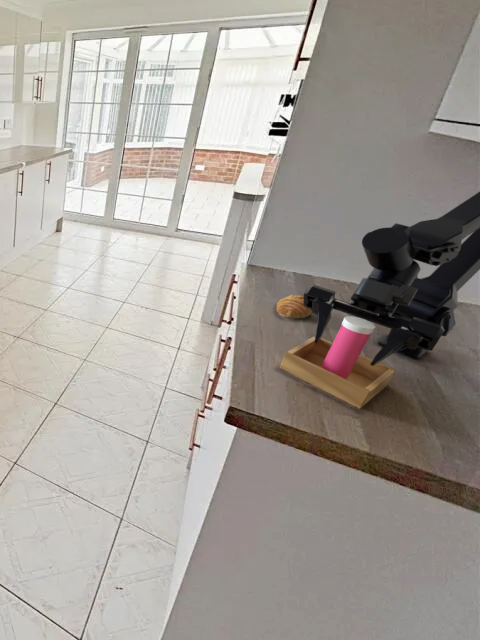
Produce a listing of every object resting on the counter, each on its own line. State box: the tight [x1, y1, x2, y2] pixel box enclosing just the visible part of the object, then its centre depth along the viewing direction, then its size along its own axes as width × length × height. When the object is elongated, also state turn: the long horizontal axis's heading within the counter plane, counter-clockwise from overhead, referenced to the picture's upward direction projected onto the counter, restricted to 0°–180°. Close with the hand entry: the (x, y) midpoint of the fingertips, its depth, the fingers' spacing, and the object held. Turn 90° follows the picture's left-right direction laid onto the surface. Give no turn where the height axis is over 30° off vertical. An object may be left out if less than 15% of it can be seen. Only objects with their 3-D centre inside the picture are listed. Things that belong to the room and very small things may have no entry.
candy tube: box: [321, 315, 376, 379], centre depth 75 cm, size 4×4×12 cm
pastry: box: [276, 294, 313, 320], centre depth 100 cm, size 9×7×4 cm
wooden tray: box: [279, 335, 397, 409], centre depth 77 cm, size 13×13×4 cm
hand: (342, 352), depth 74 cm, fingers open, 8 cm apart
